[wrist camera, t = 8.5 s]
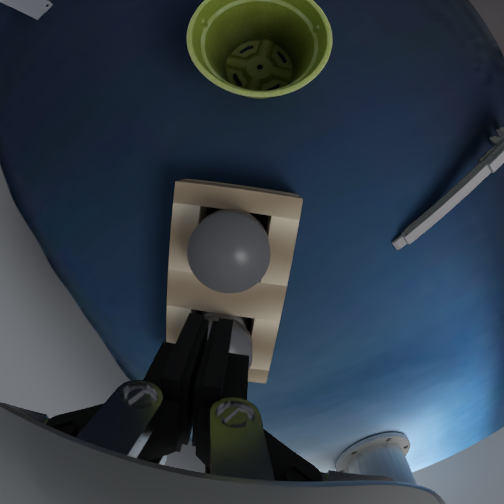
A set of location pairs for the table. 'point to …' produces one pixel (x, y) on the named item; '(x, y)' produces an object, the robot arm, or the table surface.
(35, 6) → the blue upright box
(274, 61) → the plant pot
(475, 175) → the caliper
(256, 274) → the knob near
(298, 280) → the table surface
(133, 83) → the table surface
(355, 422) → the table surface
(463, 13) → the table surface
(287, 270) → the mount
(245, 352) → the knob far
